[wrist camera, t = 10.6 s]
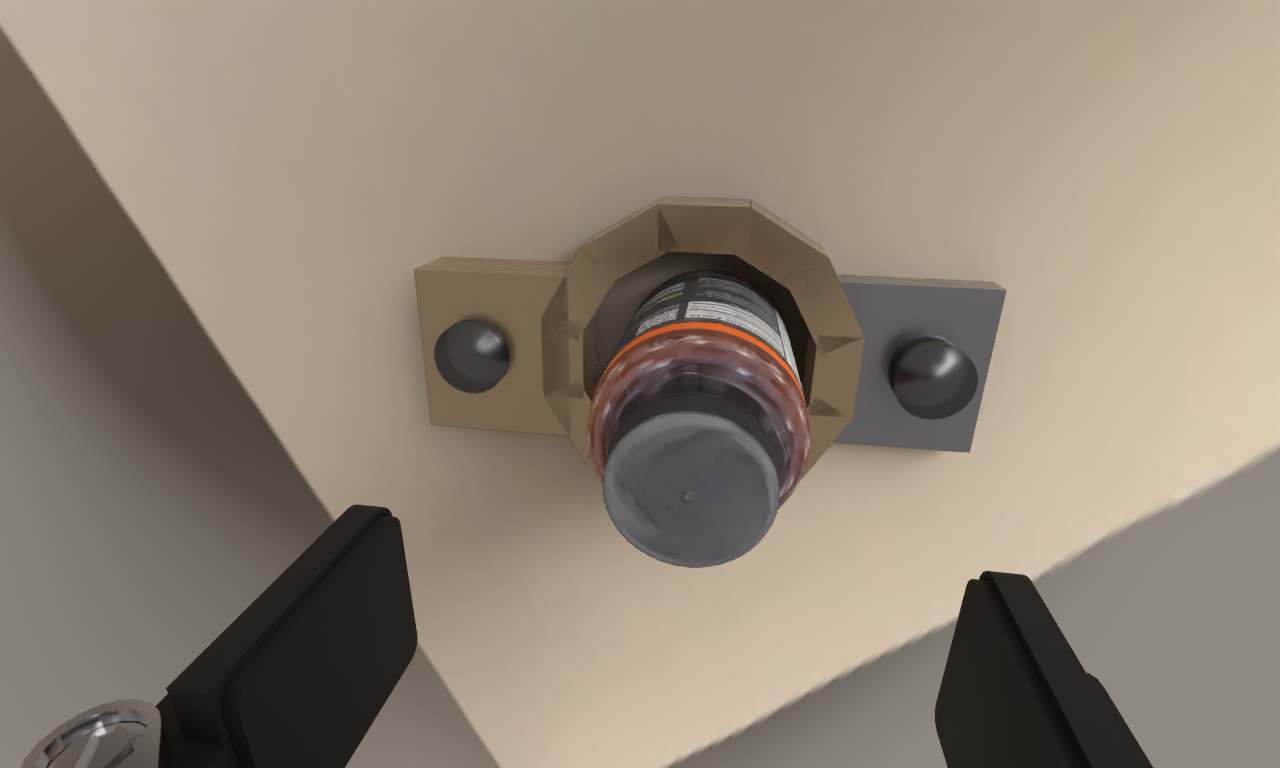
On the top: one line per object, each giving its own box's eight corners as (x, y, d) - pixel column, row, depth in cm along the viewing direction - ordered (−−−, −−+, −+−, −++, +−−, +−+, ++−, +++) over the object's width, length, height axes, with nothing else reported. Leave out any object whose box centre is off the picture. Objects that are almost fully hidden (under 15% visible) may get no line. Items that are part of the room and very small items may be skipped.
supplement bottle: (724, 442, 26) (714, 649, 16) (602, 358, 26) (508, 515, 15) (822, 327, 24) (884, 480, 14) (690, 232, 24) (651, 317, 13)
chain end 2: (1009, 207, 22) (1040, 217, 20) (946, 495, 26) (966, 529, 24) (555, 193, 24) (535, 199, 21) (563, 462, 28) (547, 491, 26)
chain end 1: (869, 203, 22) (887, 214, 20) (829, 485, 26) (840, 527, 24) (436, 189, 24) (397, 197, 21) (461, 453, 28) (430, 489, 26)
